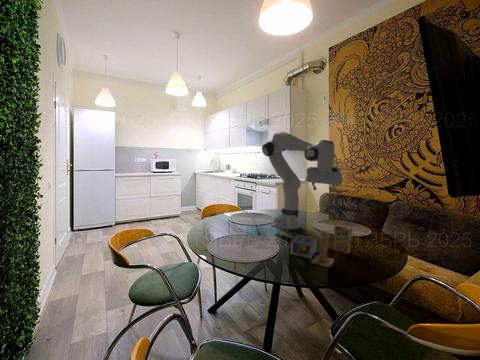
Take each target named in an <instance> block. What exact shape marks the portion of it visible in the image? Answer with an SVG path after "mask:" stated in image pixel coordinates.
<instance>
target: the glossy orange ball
mask: <svg viewBox="0 0 480 360" xmlns="http://www.w3.org/2000/svg"><path fill="white" fill-rule="evenodd" d="M300 250H301V251H308V246H306V245H301V244H300Z"/></svg>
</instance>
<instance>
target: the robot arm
mask: <svg viewBox="0 0 480 360" xmlns="http://www.w3.org/2000/svg"><path fill="white" fill-rule="evenodd" d="M261 151H262V153H263V155H264V156H265V157H268V159H269V162H270V164H271V166H272V167H273V170H274V171H275V173H276V174H277V176H278V177H280V179H281V180H282V182H283V183H282V189H283V196H284V197H283V199H284V202H283V203H284V204H283V208H281V209H280V213H279V214H278V215H275V217H274V220H273V221H272V222H270V226H272V227H275V228H279V229H283V230H287V231H288V230H296V229H299V228H301V227H300V217H299V216H300V211H299V210H300V209H299V203H300V200H299V189H300V188H301V186H302V182H301V179H300V178H299V177H298V175H297V174H296V173H295V172H294V171H293V169H292V168H291V166H290V165H289V163H288V162H287V160H286V158H285V157H284V155H283V152H285V151H291V152H295V151H296V152H304V155H303V156H304V157H305V160H307V161H309V162H317V165H316V167H315V166H309V167H307V169H306V178H305V181H306V182H307V183H311V186H312V190H313V191H316V190H317V186H316V185H315V184H324V185H331V186H332V188H329V193H333V192H334V189H335V187H336V186H341V185H342V184H343V174H342V173H341V172H342V168H340V167H338V166H336V165H334V157H335V143H334V142H333V141H332V140H326V139H321V140H320V141H319V142H317V143H315V144H313V143H310V142H308V141H305V140H303V139H301V138H299V137H297V136H295V135H293V134H290V133H288V132H285V131H276V132H275V133H273V136H272V139H271V140H269V141H267V142H265V143H263V144H262V145H261Z"/></svg>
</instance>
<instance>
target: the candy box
mask: <svg viewBox="0 0 480 360" xmlns="http://www.w3.org/2000/svg"><path fill="white" fill-rule="evenodd" d="M352 231H353V227H351V226H347V225H341V224H335V225H334V233H333V245H332V246H333V247H332V250H333V251H336V252H340V253H343V254H346V255H349V253H351V248H352V247H351V246H352V234H353V233H352Z"/></svg>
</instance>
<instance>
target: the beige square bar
mask: <svg viewBox="0 0 480 360" xmlns="http://www.w3.org/2000/svg"><path fill="white" fill-rule="evenodd" d="M328 235H329V231H326V230H321V231H320V242H319V255H318V256H319V261H322V262H325V261H326V257H327V254H328V253H327V251H328V248H327V247H328Z"/></svg>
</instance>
